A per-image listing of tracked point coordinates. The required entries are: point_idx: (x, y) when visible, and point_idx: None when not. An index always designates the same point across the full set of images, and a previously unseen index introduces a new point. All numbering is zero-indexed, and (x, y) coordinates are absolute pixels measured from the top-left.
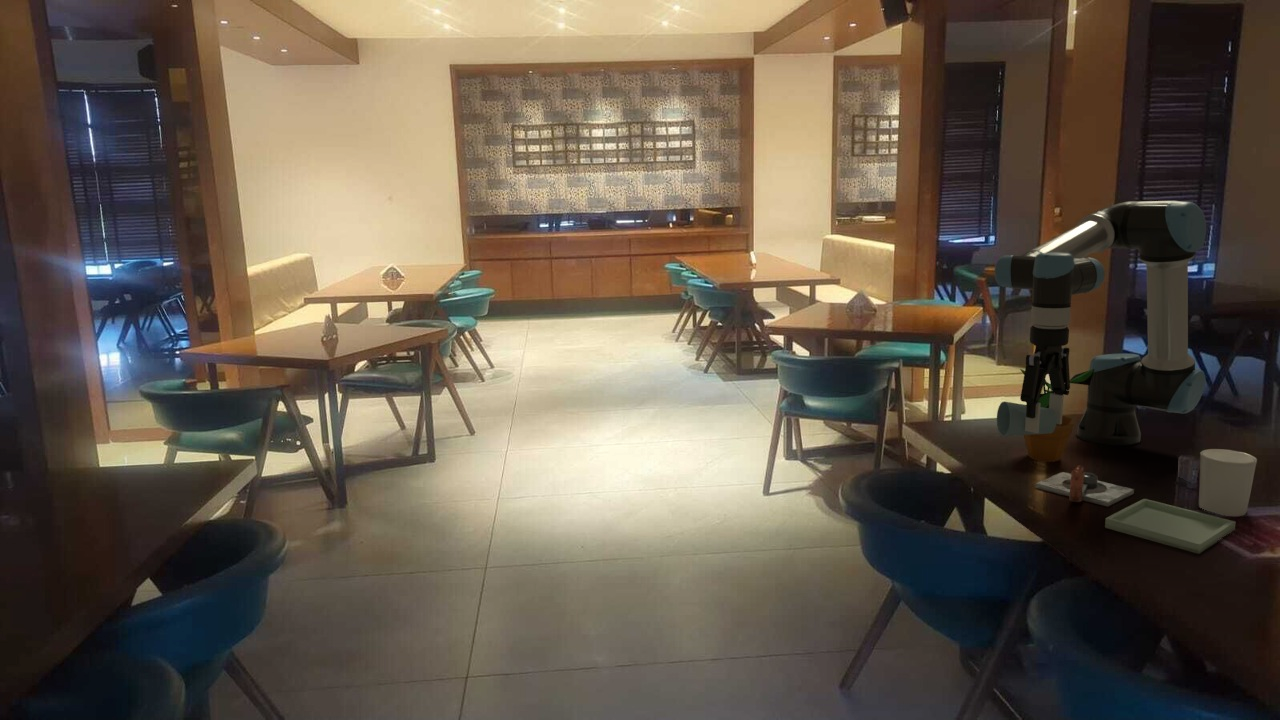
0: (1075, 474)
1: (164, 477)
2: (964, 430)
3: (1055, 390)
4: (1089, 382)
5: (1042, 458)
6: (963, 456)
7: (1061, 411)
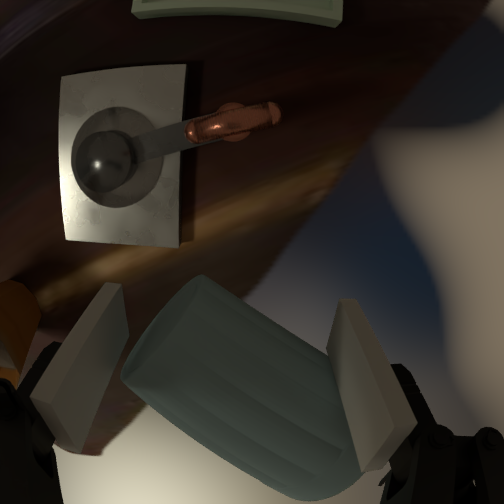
0: (281, 111)
1: None
2: None
3: (44, 453)
4: None
5: (34, 302)
6: (129, 398)
7: (87, 325)
